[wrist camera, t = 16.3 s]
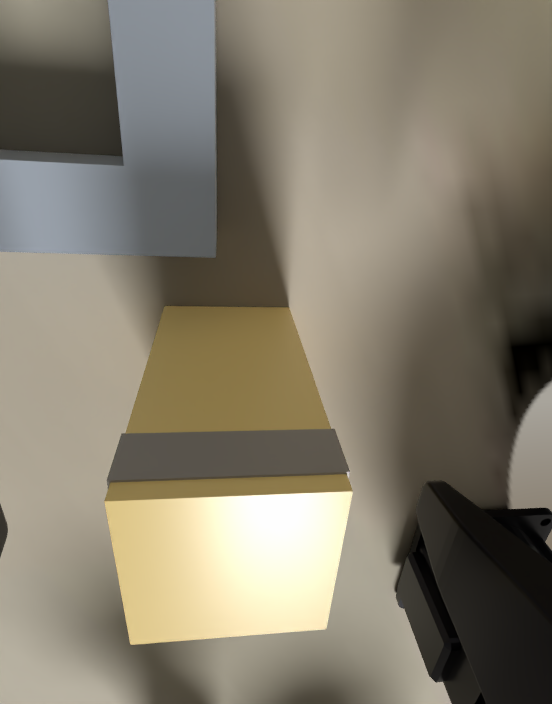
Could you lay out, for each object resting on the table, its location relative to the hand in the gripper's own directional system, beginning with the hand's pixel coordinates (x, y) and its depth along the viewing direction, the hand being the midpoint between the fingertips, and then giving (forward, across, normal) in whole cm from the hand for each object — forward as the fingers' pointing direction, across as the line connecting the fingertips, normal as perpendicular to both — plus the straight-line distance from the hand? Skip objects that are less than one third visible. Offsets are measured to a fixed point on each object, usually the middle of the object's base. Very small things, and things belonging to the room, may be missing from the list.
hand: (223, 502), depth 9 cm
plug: (+6, 0, 0) cm, 6 cm away
